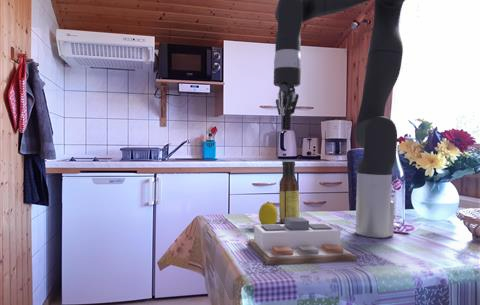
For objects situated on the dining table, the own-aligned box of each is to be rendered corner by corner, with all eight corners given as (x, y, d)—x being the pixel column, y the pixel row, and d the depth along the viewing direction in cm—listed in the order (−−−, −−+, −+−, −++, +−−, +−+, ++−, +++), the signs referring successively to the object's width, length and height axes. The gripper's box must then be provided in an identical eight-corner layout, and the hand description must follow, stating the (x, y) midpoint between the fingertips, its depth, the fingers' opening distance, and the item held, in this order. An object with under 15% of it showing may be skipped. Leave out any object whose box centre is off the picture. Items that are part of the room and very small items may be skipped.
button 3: (278, 241, 84) (279, 224, 84) (284, 246, 80) (285, 228, 80) (260, 241, 83) (261, 225, 83) (266, 246, 79) (266, 229, 79)
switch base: (323, 240, 91) (324, 231, 91) (356, 260, 75) (356, 249, 75) (248, 243, 87) (249, 233, 87) (267, 264, 71) (267, 253, 71)
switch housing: (324, 239, 89) (325, 223, 89) (340, 247, 81) (340, 230, 81) (253, 241, 85) (254, 224, 85) (262, 250, 77) (263, 232, 77)
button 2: (301, 233, 85) (301, 217, 85) (308, 238, 81) (309, 221, 81) (284, 234, 84) (284, 217, 84) (290, 238, 80) (291, 221, 80)
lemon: (276, 231, 100) (276, 203, 100) (257, 229, 101) (257, 202, 101) (278, 227, 105) (278, 200, 105) (259, 225, 106) (260, 199, 106)
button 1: (323, 239, 87) (323, 223, 86) (331, 244, 82) (331, 227, 82) (306, 240, 86) (307, 224, 86) (313, 245, 81) (314, 228, 81)
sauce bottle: (301, 222, 113) (303, 161, 112) (294, 225, 107) (295, 161, 107) (283, 219, 116) (285, 160, 116) (275, 223, 111) (276, 160, 111)
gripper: (309, 64, 93) (307, 129, 93) (291, 74, 106) (290, 131, 106) (282, 62, 91) (280, 128, 91) (267, 72, 104) (266, 130, 104)
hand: (285, 130), depth 99 cm, fingers closed
